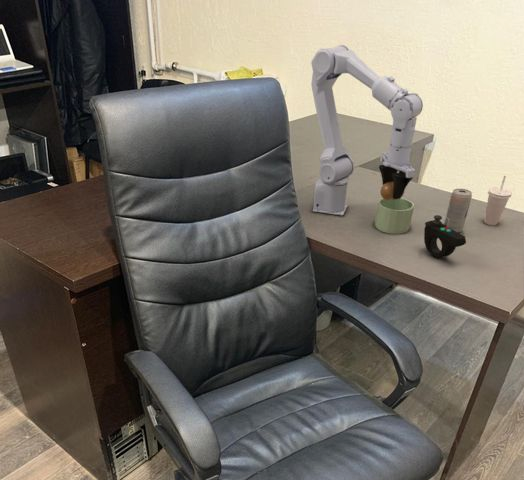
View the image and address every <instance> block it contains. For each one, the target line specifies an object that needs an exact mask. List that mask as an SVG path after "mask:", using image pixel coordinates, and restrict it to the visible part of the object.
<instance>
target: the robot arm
mask: <svg viewBox="0 0 524 480" xmlns="http://www.w3.org/2000/svg"><path fill="white" fill-rule="evenodd" d="M310 64H311V69H312V76H311V84H310V85H311V91H312V96H313V101H314V106H315V111H316V115H317V116H316V117H317V122H318V127H319V132H320V137H321V141H322V147H323V151H322V153H321V156H320V158H319V164H320V166H319V176H320V178H318V179H317V180H316V183H315V187H314V195H313V208H312V212H314V213H320V214H328V215H334V216H340V217H341V216H344V215H345V212H346V211H347V208H348V204H346V199H347V198H346V197H347V189H348V182H349V179H350V176H351V175H352V174H353V172H354V170H355V163H354V161H353V159H352V158H351V156H350V151H349V149H348V148H346V147H345V145H343V139H342V134H341V129H340V123H339V118H338V113H337V107H336V102H335V101H336V100H335V95H334V90H333V86H334V85H335V84H336V82H337V80H338V79H339V77H341V76H342V75H343V74H348V75H350V76H352V77H353V78H354V79H356V80H357V81H358V82H360V83H362V84H363V85H364V86H366V87H367V88H369V89H370V90H371V95H372V97H373V98H374V99H375V100H376V101H377V102H379V103H380V104H381V105H382V106H384V107H385V108H386V109H388V110H389V111H390V115H391V118H392V128H391V134H390V140H389V146H388V151H387V152H384V153H381V154H380V159H379V160H380V162H382V164H380V165H379V166H378V169H379V171H380V175H381V181H382V186H383V185H384V184H385V183H387V182H393V183H394V189H393V199H400V198H402V197H403V196H402V194H403V192H404V193H405V191H406V189H407V186H408V185H409V184H410V182H411V181H412V180H413V178H415V174H416V169H414V168H413V166H412V164H411V163H410V156H411V150H412V146H413V141H414V136H415V129H416V124H417V118H418V116H419V115H421V114H422V111H423V108H424V104H423V100H422V98H421V97H420V96H419V94H418V93H416V92H411V93H410V92H409V90H408V89H407V88H403V87H402V86H401V85H399V84H398V83H397V82H395V81H396V79H395V78H394V77H393V76H388V75H385V76H382V77H381V76H379V74H378V73H376V72H375V71H374V70H373V69H372V68H371V67H369V66H368V65H367V64H366V63H365V62H364V61H363V60H362V59H360V58H359V57H358V56H357V54H356V52H355V51H354V50H352V49H350V48H349V47H348V46H347V45H345V44H340V45H337V46H333V47H327V48H326V47H323V48H320V49H318V50H317V51H316V53H315V55H314V56H313V58H312V59H311V62H310ZM404 190H405V191H404ZM403 195H404V194H403ZM401 196H402V197H401Z"/></svg>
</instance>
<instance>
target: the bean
mask: <svg viewBox="0 0 524 480" xmlns="http://www.w3.org/2000/svg"><path fill="white" fill-rule="evenodd" d="M393 189H394V183H393V182H387V183H385V184H384V185H383V184H382V186H381V187H380V191H379V192H380V196H381V199H382V198H383V199H385V200H387V201H391V200H397V199H393ZM405 191H406V189H405V190H404V192H403V194H402V196H401V198H403V196H404V194H405Z"/></svg>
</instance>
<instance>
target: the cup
mask: <svg viewBox="0 0 524 480" xmlns="http://www.w3.org/2000/svg"><path fill="white" fill-rule="evenodd" d="M414 209H415V204H414V202H413V201H412V200H409V199H407V198H403V197H401V198H400V199H397V200H391V201H387V200H385V199H383V198H382V197H381V198H380V199H379V200H378V202H377V208H376V214H375V220H374V227H375V229H377V230H378V231H380V232H383V233H387V234H393V235H400V234H404V233H407V232H408V231H410V228H411V223H412V218H413V213H414Z"/></svg>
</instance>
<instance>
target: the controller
mask: <svg viewBox="0 0 524 480" xmlns="http://www.w3.org/2000/svg"><path fill="white" fill-rule="evenodd" d="M442 219H443V216H442V215H439V214H435V215H434V216H433V220H427V221H425V223H424V225H425V226H424V229H423V230H424V232H423V243H424V246H425V249H426V251H427V252H428V253H429V254H430V255H431V256H433V257H435V258H440V259H441V258H445V257H448V256H451V255H452V254H453V253H454V252H455V250H456V249H457V247H458V248H459V247H462V246H464V245H466V243H467V240H466V236H465V235H463V234H462V233H461V234H459V233H458V232H456V231H454V230H452V229H450V228H449V227H448V226H446V225H444V223H443V222H442V221H441V220H442ZM438 240H439V241H440V243H441V249H440V248H439V246H438Z"/></svg>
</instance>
